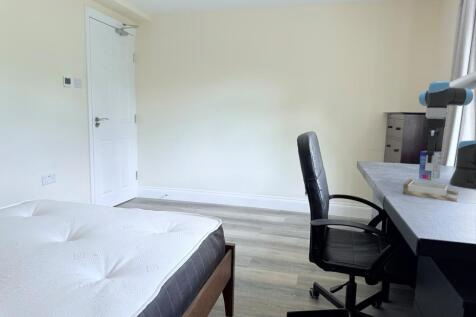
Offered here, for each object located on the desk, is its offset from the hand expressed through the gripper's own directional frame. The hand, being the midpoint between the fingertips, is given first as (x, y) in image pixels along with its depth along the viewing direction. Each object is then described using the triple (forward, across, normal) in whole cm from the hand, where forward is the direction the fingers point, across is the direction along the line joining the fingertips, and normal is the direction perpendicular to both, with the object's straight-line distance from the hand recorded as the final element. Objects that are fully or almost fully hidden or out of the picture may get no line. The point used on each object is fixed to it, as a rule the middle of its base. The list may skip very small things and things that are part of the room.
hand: (429, 169), depth 142 cm
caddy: (+11, 0, 0) cm, 11 cm away
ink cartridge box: (+4, 0, 0) cm, 4 cm away
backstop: (+11, 0, -1) cm, 11 cm away
